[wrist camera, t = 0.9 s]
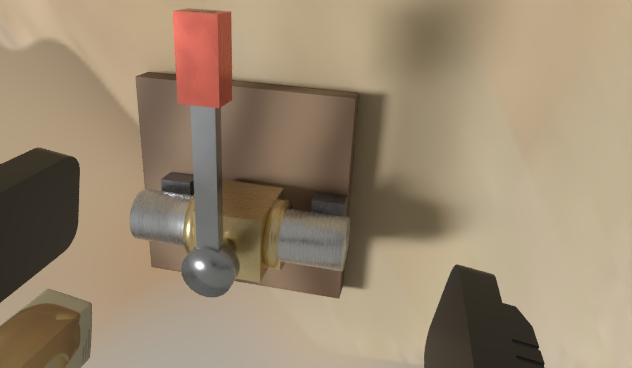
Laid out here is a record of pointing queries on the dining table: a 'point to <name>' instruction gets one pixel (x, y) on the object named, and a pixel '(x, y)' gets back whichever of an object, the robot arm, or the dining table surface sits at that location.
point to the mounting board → (257, 155)
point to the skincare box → (48, 333)
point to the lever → (206, 140)
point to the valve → (249, 224)
